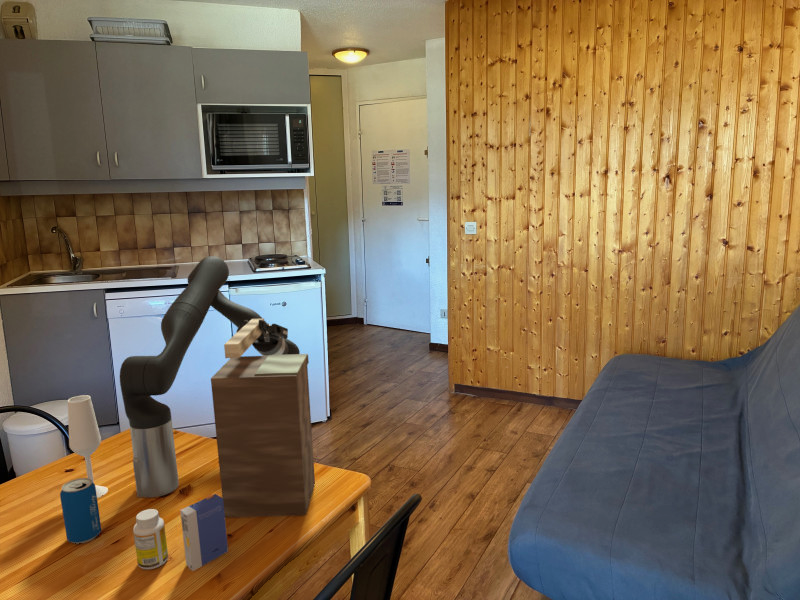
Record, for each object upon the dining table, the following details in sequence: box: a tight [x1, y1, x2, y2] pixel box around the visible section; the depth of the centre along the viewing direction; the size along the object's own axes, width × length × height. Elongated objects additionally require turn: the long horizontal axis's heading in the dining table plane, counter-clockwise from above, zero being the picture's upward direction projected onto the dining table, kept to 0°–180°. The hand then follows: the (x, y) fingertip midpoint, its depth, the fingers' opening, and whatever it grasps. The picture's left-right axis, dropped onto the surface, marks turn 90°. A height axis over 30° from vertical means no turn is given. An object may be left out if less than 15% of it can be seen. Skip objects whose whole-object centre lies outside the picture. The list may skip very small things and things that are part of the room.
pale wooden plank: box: [223, 317, 265, 359], centre depth 136 cm, size 24×3×3 cm, turn 0°
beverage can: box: [59, 477, 102, 545], centre depth 124 cm, size 6×6×12 cm
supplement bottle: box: [132, 508, 169, 570], centre depth 115 cm, size 6×6×10 cm
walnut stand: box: [210, 353, 316, 519], centre depth 135 cm, size 16×18×32 cm
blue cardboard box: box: [179, 493, 229, 572], centre depth 115 cm, size 8×3×12 cm, turn 139°
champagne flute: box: [67, 394, 109, 499], centre depth 141 cm, size 7×7×24 cm
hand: (252, 323), depth 143 cm, fingers closed on pale wooden plank, 3 cm apart
